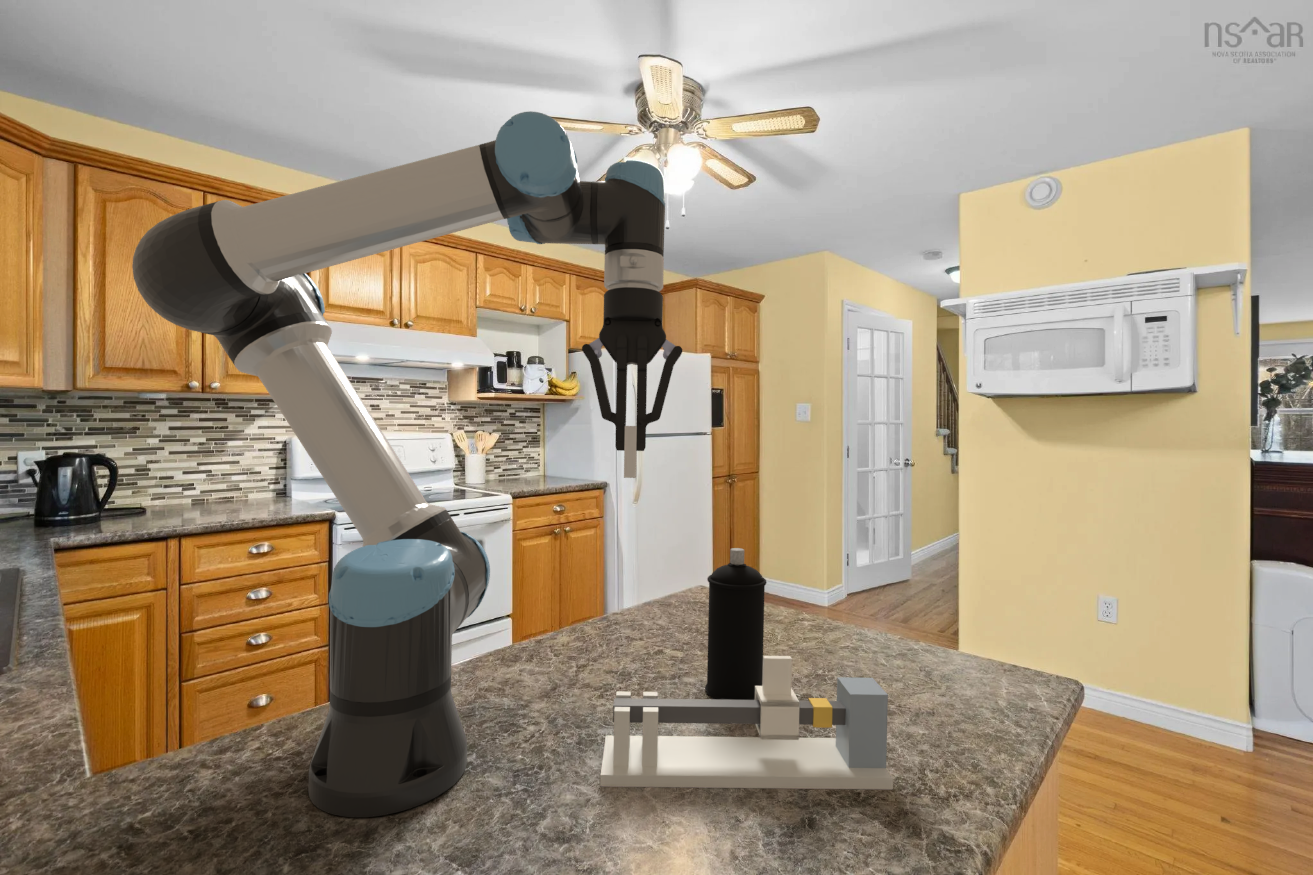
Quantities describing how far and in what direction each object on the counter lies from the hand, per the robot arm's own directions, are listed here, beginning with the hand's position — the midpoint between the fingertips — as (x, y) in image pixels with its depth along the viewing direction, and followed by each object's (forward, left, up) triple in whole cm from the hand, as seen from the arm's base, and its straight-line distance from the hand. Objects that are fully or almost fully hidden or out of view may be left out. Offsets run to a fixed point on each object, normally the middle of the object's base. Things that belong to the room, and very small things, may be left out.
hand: (630, 476), depth 78 cm
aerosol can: (+15, +7, -31) cm, 35 cm away
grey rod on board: (+13, -12, -30) cm, 35 cm away
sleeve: (+17, -12, -26) cm, 33 cm away
